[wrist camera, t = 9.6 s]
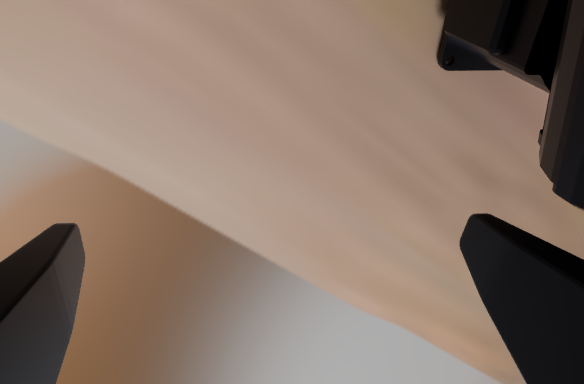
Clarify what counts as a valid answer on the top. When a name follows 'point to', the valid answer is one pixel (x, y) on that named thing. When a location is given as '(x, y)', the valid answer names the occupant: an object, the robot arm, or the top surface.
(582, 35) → the robot arm
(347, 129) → the top surface
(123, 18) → the top surface
